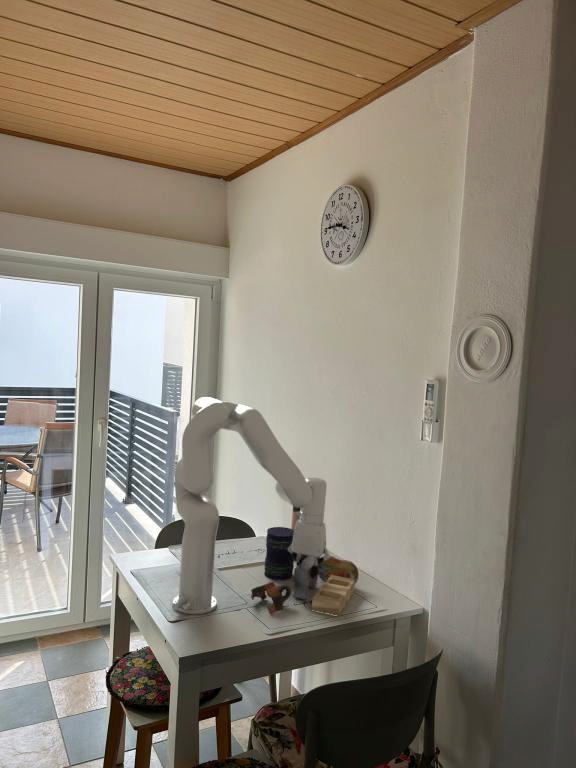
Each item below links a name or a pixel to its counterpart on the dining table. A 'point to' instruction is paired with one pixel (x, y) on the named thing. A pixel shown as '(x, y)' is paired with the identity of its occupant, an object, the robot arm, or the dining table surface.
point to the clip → (304, 578)
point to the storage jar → (279, 554)
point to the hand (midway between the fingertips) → (306, 574)
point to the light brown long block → (333, 595)
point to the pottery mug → (272, 595)
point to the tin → (337, 569)
